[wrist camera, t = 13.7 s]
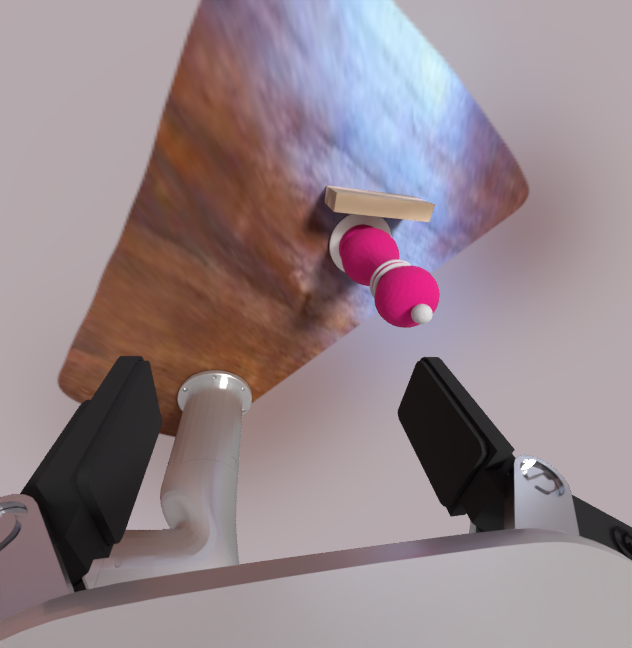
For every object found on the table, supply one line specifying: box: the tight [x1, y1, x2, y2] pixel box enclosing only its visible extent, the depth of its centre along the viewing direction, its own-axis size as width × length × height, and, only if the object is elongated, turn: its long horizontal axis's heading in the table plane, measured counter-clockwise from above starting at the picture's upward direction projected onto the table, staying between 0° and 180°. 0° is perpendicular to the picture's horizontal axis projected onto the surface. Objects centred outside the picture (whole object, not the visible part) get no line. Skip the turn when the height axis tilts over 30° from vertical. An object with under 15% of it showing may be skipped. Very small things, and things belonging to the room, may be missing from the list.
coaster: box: [329, 214, 392, 272], centre depth 42 cm, size 9×9×1 cm
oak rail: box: [324, 186, 435, 222], centre depth 36 cm, size 2×12×6 cm, turn 82°
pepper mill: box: [339, 224, 440, 327], centre depth 33 cm, size 7×7×20 cm
